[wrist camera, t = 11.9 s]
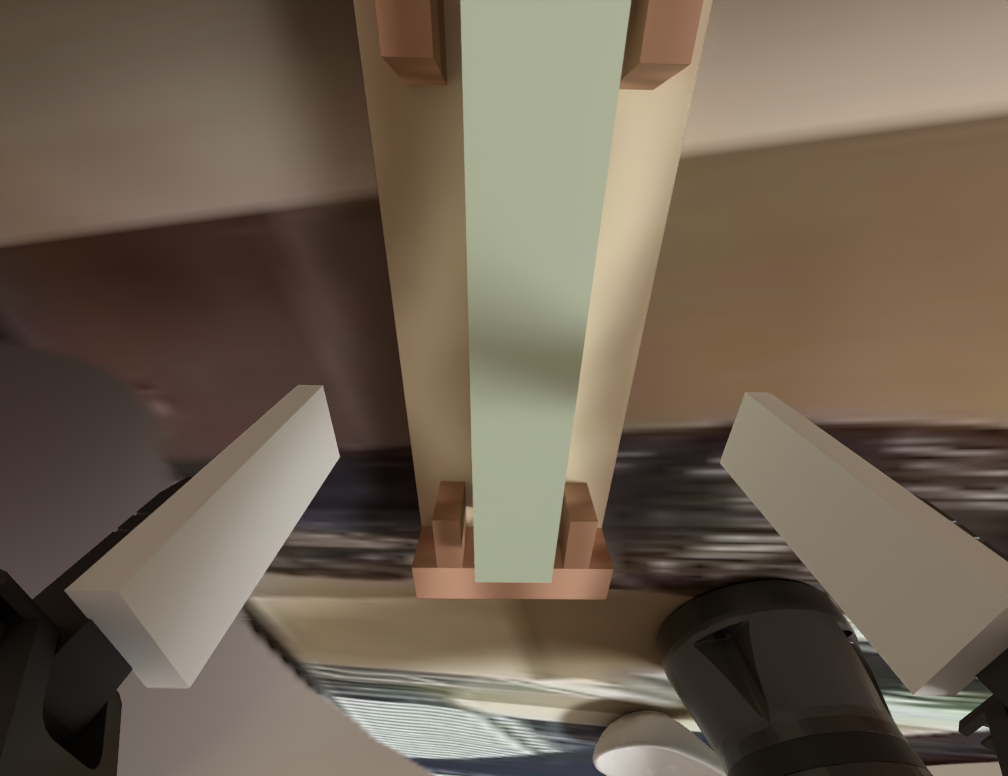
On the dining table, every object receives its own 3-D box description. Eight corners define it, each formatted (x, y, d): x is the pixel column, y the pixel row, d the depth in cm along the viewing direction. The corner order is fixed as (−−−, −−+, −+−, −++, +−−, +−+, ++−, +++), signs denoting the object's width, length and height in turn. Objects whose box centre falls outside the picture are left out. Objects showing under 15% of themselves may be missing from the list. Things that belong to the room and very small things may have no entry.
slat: (595, -16, 12) (650, -141, 7) (542, 509, 23) (551, 582, 19) (473, -21, 12) (456, -148, 7) (480, 508, 23) (475, 582, 19)
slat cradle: (736, -193, 11) (857, -391, 7) (591, 543, 27) (606, 599, 23) (338, -208, 11) (252, -417, 7) (428, 541, 26) (416, 598, 23)
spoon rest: (592, 745, 45) (607, 835, 39) (581, 703, 39) (596, 800, 33) (793, 726, 42) (844, 819, 36) (811, 678, 37) (874, 778, 31)
